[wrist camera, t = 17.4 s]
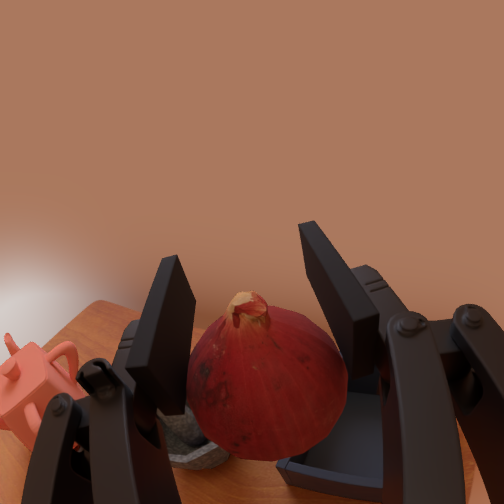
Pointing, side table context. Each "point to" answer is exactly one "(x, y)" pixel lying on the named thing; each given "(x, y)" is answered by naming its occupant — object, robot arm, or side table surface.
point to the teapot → (34, 386)
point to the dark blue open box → (345, 449)
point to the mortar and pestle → (189, 442)
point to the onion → (265, 381)
